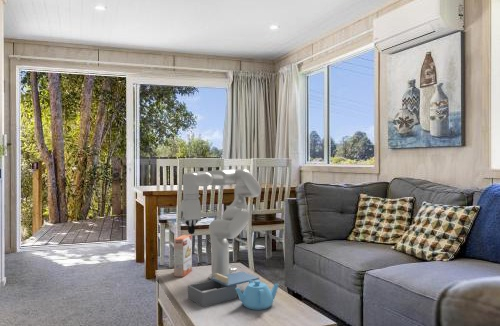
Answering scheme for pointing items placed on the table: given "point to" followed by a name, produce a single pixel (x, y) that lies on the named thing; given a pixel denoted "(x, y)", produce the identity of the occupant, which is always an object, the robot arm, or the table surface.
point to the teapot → (257, 295)
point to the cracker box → (182, 255)
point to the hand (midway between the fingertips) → (191, 233)
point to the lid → (234, 278)
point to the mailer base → (211, 293)
